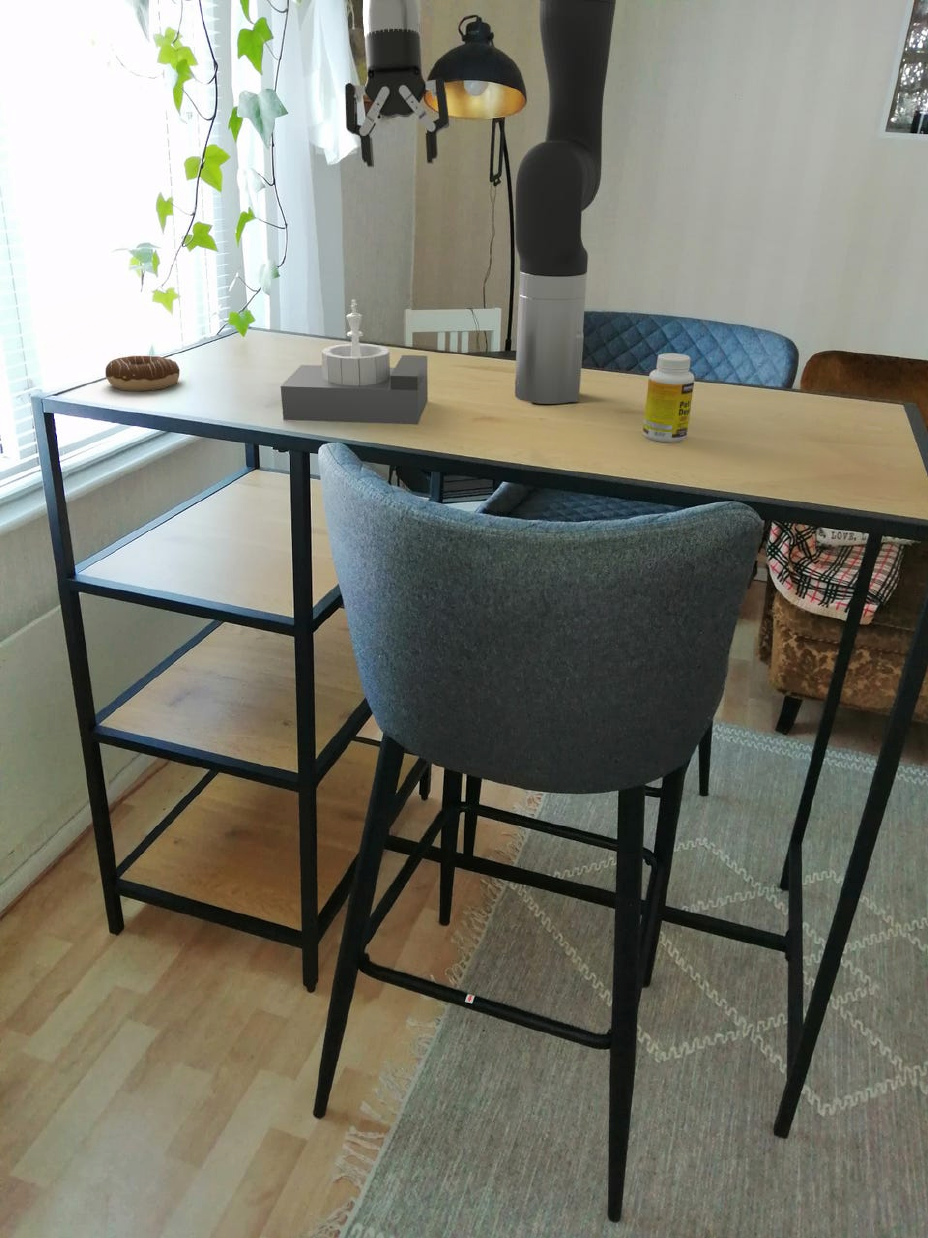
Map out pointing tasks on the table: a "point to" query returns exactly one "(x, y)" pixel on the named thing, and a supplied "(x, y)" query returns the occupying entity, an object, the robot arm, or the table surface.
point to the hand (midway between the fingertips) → (400, 164)
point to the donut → (142, 373)
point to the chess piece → (354, 330)
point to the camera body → (357, 388)
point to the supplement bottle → (669, 399)
